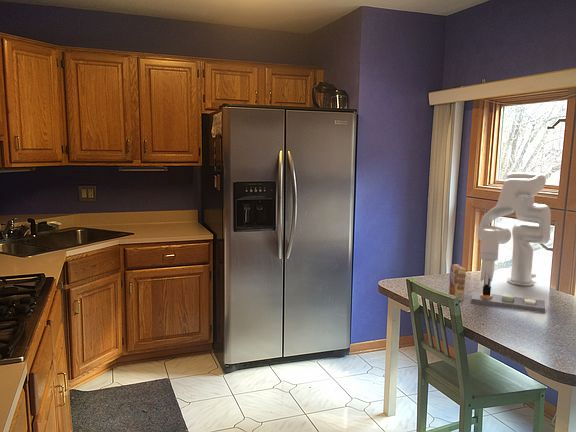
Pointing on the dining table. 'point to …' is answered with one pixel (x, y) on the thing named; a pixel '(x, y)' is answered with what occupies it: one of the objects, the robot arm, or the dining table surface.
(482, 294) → the orange button
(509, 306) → the button panel
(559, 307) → the dining table surface
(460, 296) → the candy box
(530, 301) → the cream button
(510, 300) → the sage button
